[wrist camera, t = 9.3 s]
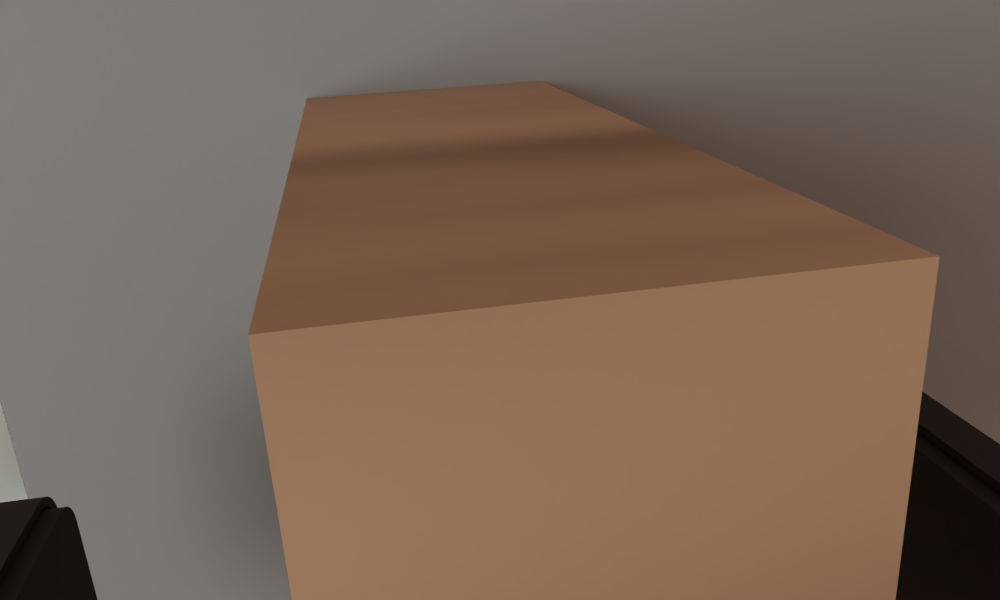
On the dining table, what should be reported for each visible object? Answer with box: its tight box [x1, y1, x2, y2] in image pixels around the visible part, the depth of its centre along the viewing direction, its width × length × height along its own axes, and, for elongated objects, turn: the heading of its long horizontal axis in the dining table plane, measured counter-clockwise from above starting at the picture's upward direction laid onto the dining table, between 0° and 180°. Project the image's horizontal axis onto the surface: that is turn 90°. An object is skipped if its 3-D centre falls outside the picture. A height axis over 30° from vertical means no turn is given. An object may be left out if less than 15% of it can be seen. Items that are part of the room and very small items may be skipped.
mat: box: [0, 0, 1000, 600], centre depth 13 cm, size 14×16×1 cm
